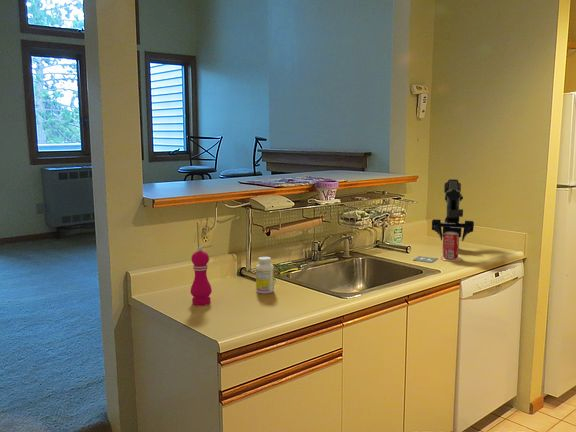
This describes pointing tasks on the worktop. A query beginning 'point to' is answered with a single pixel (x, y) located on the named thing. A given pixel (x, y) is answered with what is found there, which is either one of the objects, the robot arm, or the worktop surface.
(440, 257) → the disc
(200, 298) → the pepper mill
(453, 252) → the soda can
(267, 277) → the supplement bottle
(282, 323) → the worktop surface
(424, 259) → the coaster
